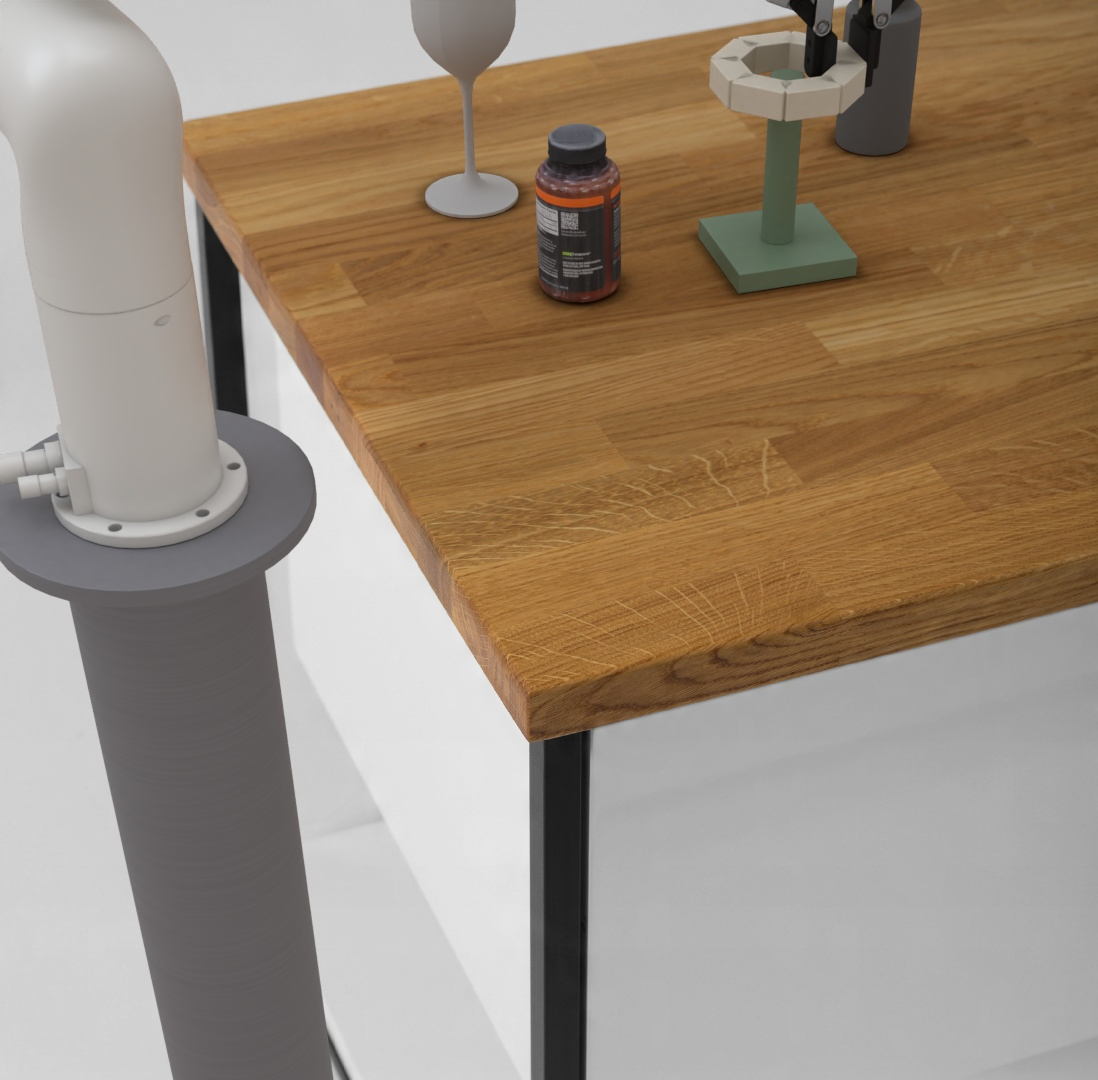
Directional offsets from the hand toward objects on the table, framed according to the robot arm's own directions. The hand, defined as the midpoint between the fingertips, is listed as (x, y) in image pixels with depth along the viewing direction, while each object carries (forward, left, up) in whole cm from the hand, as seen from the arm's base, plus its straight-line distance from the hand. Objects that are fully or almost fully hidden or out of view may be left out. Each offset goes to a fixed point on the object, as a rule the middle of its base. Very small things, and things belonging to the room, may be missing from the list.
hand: (839, 80), depth 142 cm
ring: (-4, 0, 0) cm, 4 cm away
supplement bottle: (-19, 0, -13) cm, 23 cm away
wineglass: (-23, +16, -13) cm, 31 cm away
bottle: (+10, +16, -13) cm, 23 cm away
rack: (-4, 0, -13) cm, 13 cm away
